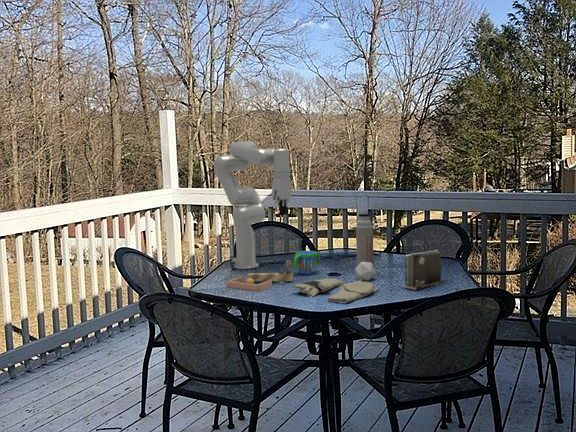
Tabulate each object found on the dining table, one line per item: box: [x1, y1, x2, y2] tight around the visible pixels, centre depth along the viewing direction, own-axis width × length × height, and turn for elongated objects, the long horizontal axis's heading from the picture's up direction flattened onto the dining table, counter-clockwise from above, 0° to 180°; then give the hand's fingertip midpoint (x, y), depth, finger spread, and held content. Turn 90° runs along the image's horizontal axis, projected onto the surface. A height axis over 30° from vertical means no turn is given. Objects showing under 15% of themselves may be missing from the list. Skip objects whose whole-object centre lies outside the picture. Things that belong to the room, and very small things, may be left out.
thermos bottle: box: [355, 213, 375, 268], centre depth 267 cm, size 8×8×28 cm
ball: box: [245, 277, 255, 284], centre depth 251 cm, size 4×4×4 cm
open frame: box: [226, 276, 273, 292], centre depth 251 cm, size 17×10×2 cm, turn 56°
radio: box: [402, 249, 443, 291], centre depth 241 cm, size 23×9×15 cm, turn 127°
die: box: [354, 262, 377, 282], centre depth 255 cm, size 8×9×10 cm
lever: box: [247, 259, 294, 282], centre depth 257 cm, size 20×3×9 cm, turn 84°
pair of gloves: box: [291, 278, 379, 304], centre depth 234 cm, size 30×26×5 cm
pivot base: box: [274, 281, 289, 284], centre depth 257 cm, size 6×6×1 cm
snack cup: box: [292, 250, 321, 275], centre depth 272 cm, size 16×10×10 cm
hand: (283, 214), depth 267 cm, fingers closed
